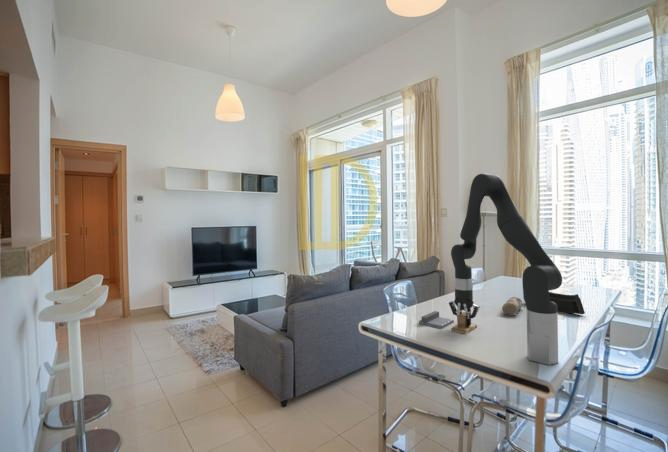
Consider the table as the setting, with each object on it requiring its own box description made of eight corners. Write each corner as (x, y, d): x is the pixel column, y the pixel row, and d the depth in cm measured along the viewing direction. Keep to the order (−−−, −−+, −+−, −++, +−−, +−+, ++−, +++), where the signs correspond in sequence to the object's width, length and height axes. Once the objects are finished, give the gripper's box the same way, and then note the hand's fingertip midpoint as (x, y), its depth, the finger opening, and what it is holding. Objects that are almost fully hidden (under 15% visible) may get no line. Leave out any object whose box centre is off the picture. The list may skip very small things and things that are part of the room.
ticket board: (441, 328, 147) (441, 321, 147) (418, 323, 155) (418, 316, 155) (454, 322, 156) (454, 314, 156) (431, 317, 164) (431, 310, 164)
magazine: (590, 299, 159) (533, 273, 185) (586, 299, 157) (529, 274, 183) (579, 329, 163) (525, 300, 190) (576, 330, 162) (522, 300, 188)
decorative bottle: (518, 317, 162) (518, 304, 162) (501, 315, 167) (501, 302, 166) (525, 305, 182) (525, 294, 182) (510, 304, 187) (510, 292, 187)
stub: (465, 333, 139) (465, 318, 139) (451, 330, 144) (451, 315, 144) (476, 327, 148) (476, 312, 148) (462, 324, 153) (462, 310, 152)
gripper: (445, 287, 148) (445, 324, 148) (476, 291, 138) (476, 331, 138) (452, 284, 153) (452, 320, 154) (482, 288, 143) (483, 326, 144)
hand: (464, 325), depth 146 cm, fingers closed on stub, 3 cm apart
